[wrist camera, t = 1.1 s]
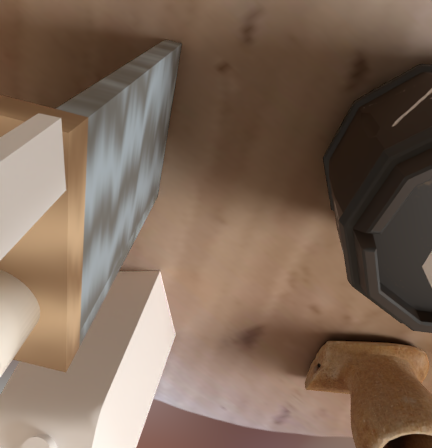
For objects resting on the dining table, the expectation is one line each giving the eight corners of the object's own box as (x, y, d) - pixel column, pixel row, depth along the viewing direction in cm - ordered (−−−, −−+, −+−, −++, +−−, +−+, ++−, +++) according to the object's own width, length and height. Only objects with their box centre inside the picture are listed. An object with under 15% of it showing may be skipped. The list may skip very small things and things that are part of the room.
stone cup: (438, 329, 49) (494, 452, 37) (412, 388, 56) (452, 509, 43) (314, 317, 51) (327, 431, 38) (302, 375, 57) (310, 489, 45)
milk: (96, 333, 58) (-12, 552, 36) (71, 272, 52) (-76, 490, 30) (175, 334, 56) (112, 567, 34) (160, 270, 50) (70, 503, 28)
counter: (5, -3, 35) (-326, 31, 16) (181, 43, 35) (68, 132, 16) (16, 160, 44) (-187, 309, 24) (157, 196, 44) (66, 372, 25)
